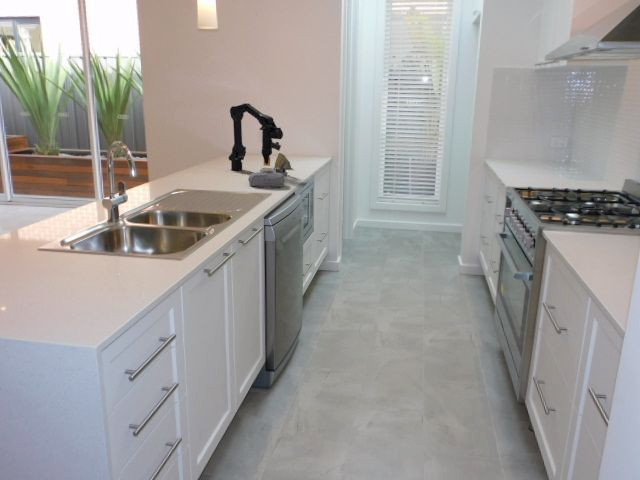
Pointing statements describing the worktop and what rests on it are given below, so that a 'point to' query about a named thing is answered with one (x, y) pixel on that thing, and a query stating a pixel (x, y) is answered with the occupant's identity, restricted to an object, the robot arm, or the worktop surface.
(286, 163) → the block
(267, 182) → the small grey backpack
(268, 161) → the orange cube
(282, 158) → the rock
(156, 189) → the worktop surface
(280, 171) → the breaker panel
